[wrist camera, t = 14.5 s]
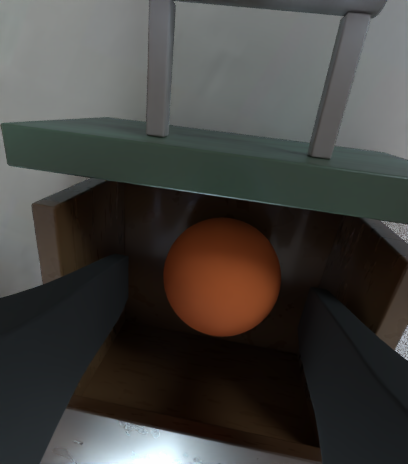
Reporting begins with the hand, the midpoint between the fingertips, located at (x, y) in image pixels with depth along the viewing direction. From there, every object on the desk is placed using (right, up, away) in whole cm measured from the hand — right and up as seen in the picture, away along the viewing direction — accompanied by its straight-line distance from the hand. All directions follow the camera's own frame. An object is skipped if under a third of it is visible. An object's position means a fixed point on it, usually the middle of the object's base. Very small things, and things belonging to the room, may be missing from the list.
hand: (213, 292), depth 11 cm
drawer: (+1, +4, +4) cm, 5 cm away
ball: (0, 0, +1) cm, 1 cm away
